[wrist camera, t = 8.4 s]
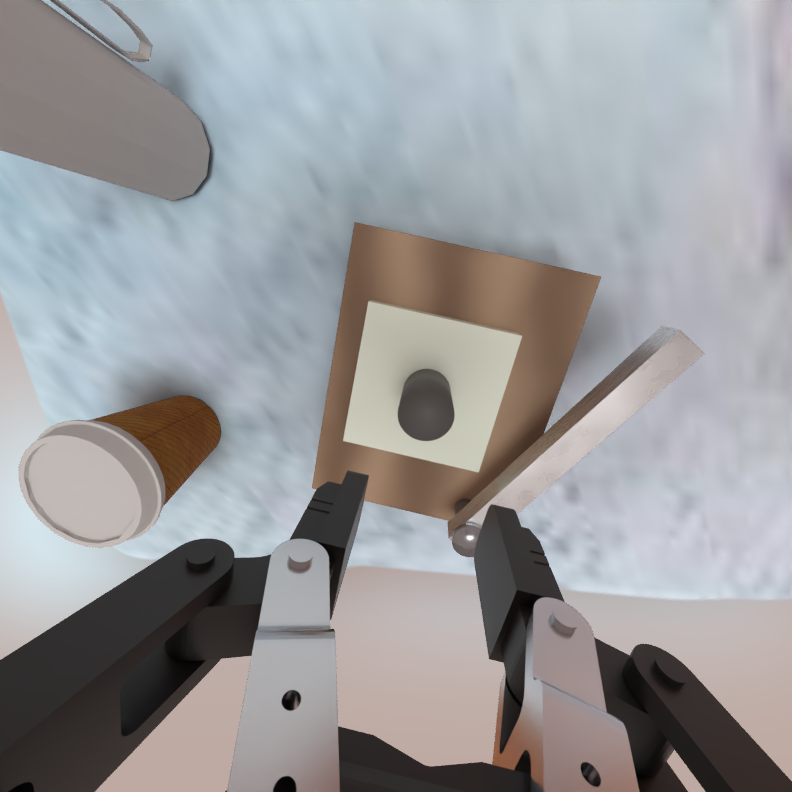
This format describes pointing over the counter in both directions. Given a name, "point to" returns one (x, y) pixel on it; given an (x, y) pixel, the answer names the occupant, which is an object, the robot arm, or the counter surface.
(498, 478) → the latch bar
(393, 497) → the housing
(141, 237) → the counter surface
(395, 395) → the lid
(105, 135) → the water bottle
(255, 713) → the robot arm
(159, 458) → the disposable coffee cup
